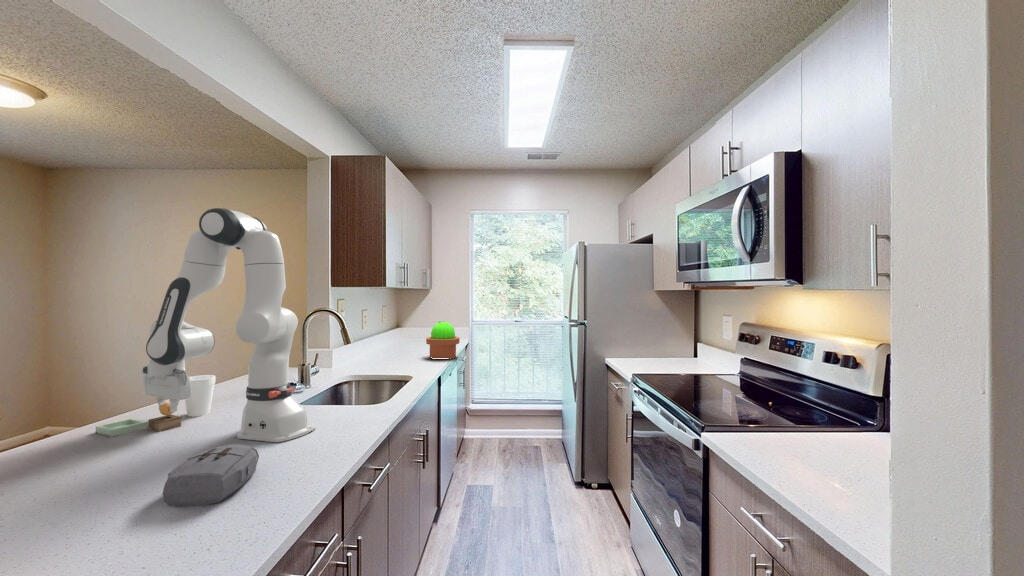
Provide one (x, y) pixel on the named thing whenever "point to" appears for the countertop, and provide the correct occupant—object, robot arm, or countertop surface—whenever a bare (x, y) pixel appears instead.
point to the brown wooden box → (164, 423)
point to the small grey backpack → (210, 476)
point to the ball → (165, 409)
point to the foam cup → (200, 395)
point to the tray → (121, 427)
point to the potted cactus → (442, 341)
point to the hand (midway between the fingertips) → (167, 411)
